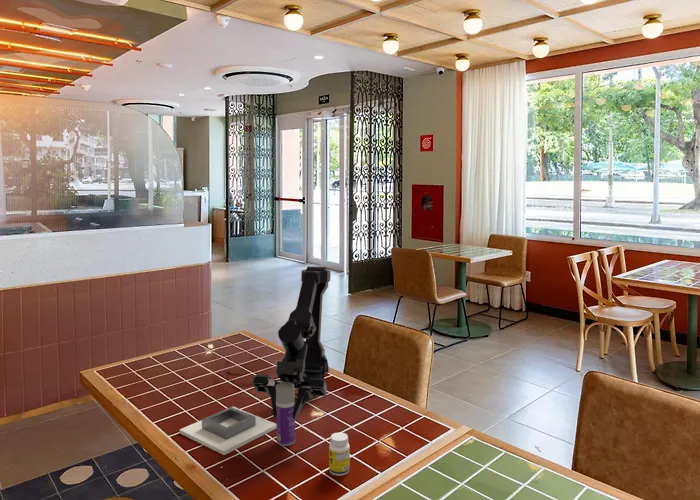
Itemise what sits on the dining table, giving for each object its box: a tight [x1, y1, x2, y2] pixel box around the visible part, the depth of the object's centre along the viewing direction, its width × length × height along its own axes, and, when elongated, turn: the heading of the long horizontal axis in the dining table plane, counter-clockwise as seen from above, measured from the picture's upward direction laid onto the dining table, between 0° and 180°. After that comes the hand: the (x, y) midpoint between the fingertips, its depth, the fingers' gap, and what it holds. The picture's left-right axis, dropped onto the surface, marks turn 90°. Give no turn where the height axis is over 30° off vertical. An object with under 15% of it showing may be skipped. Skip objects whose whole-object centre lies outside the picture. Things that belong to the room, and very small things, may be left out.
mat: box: [179, 406, 277, 456], centre depth 142 cm, size 18×18×1 cm
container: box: [276, 382, 296, 447], centre depth 135 cm, size 5×5×15 cm
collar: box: [201, 406, 256, 440], centre depth 142 cm, size 10×10×2 cm
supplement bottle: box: [328, 432, 351, 477], centre depth 123 cm, size 5×5×8 cm
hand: (284, 417), depth 134 cm, fingers closed on container, 5 cm apart
